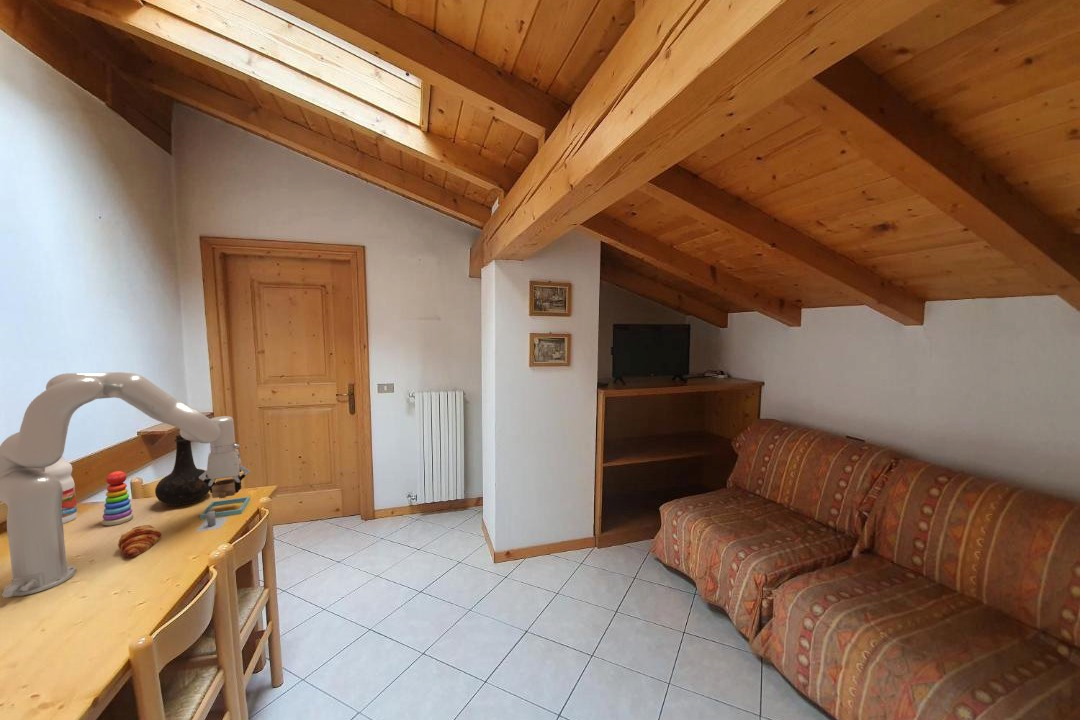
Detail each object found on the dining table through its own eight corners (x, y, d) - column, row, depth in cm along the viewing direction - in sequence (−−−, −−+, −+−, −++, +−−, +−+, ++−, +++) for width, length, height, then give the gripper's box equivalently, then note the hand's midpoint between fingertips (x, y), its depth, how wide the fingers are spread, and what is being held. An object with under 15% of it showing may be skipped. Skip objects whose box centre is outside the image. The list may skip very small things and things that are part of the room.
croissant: (137, 544, 139) (120, 527, 136) (170, 524, 144) (155, 507, 141) (120, 574, 122) (101, 556, 119) (159, 550, 127) (141, 532, 124)
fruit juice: (43, 519, 148) (36, 446, 145) (81, 512, 153) (74, 442, 151) (32, 530, 140) (24, 453, 138) (72, 522, 146) (65, 448, 143)
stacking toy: (117, 526, 143) (113, 476, 142) (95, 526, 144) (91, 476, 142) (139, 516, 151) (135, 468, 150) (119, 515, 151) (115, 468, 150)
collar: (239, 488, 160) (238, 477, 160) (233, 496, 153) (232, 485, 152) (218, 491, 158) (217, 480, 157) (211, 499, 150) (210, 488, 150)
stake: (220, 529, 142) (219, 514, 142) (195, 533, 140) (194, 518, 139) (228, 518, 151) (227, 504, 150) (205, 521, 148) (204, 507, 147)
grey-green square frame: (241, 515, 153) (241, 509, 153) (200, 521, 148) (200, 515, 148) (250, 501, 165) (250, 496, 164) (212, 506, 160) (212, 501, 159)
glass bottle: (149, 514, 153) (143, 443, 150) (165, 496, 168) (160, 432, 166) (208, 505, 161) (204, 437, 159) (218, 488, 177) (214, 427, 174)
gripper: (252, 443, 161) (255, 485, 163) (198, 448, 154) (202, 492, 156) (247, 448, 154) (250, 493, 156) (190, 454, 147) (194, 500, 149)
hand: (226, 492), depth 156 cm, fingers closed on collar, 6 cm apart
